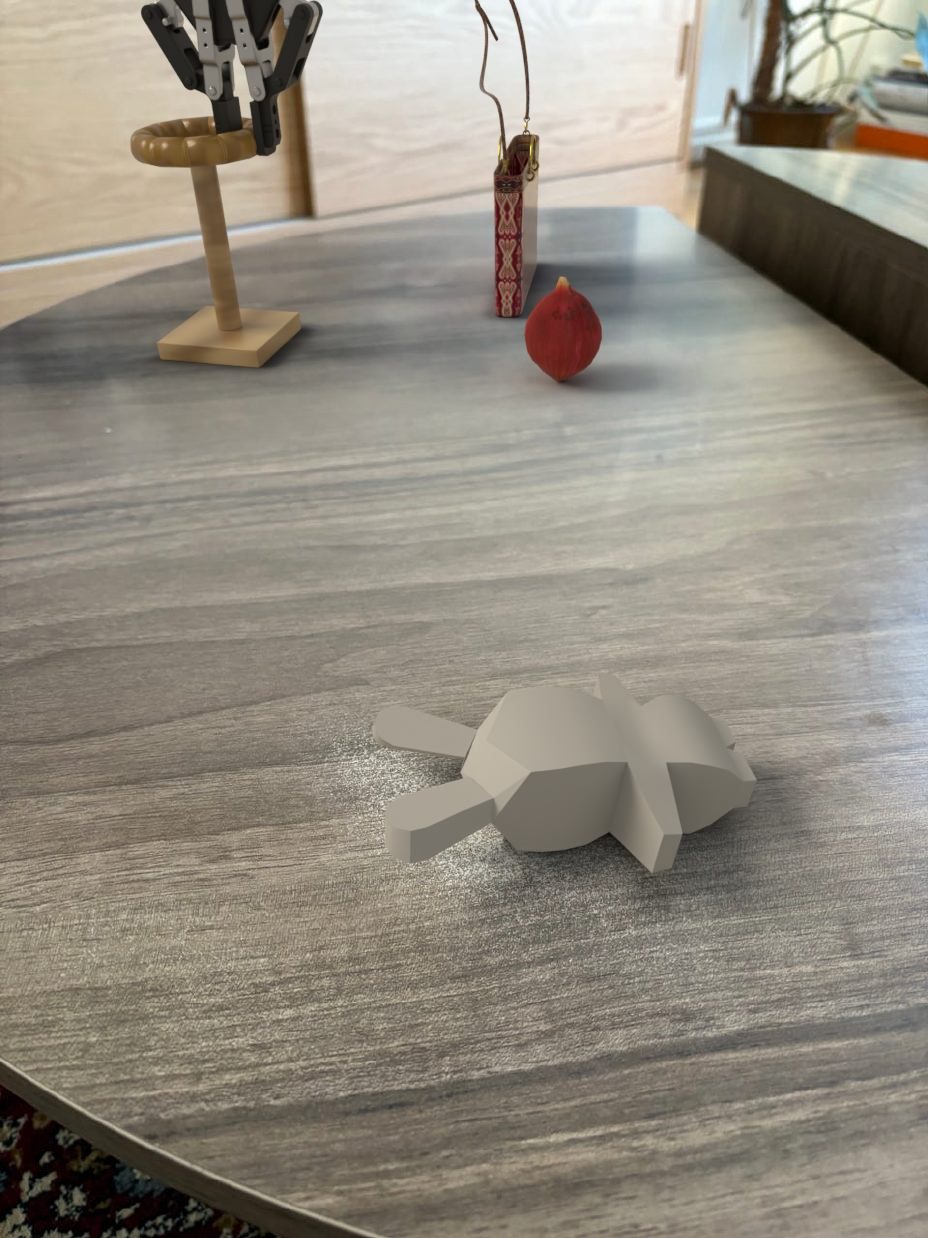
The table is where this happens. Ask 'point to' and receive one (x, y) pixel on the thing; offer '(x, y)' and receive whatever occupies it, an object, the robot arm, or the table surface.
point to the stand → (224, 300)
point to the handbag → (514, 200)
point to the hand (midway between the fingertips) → (250, 152)
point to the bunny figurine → (569, 773)
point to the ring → (192, 143)
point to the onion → (563, 332)
